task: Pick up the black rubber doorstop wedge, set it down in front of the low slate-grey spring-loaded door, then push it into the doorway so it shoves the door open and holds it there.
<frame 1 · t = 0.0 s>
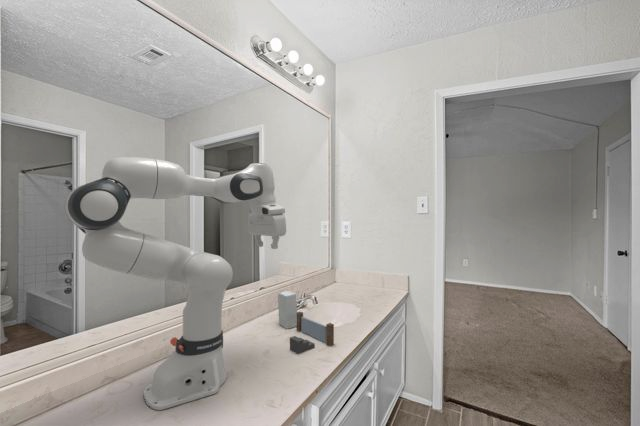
hand: (267, 247, 106), 39 cm above the worktop, tool pointing down, fingers open, 8 cm apart
doorstop wedge: (302, 349, 112), on the worktop
door: (314, 328, 123), point 3 cm above the worktop, hinge at 0.0°
skincare box: (287, 325, 136), on the worktop
door frame: (315, 337, 122), on the worktop
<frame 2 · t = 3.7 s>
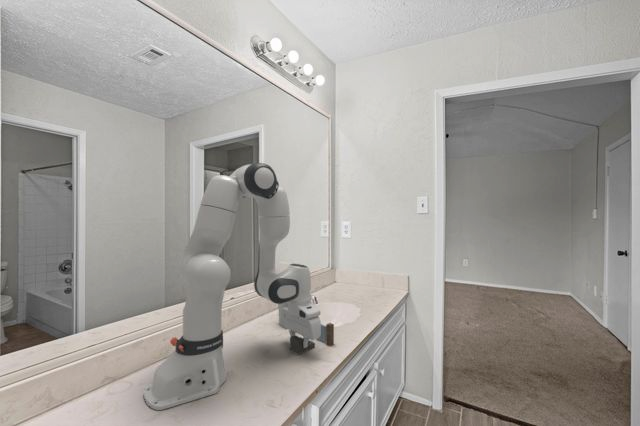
hand: (299, 344, 111), 2 cm above the worktop, tool pointing down, fingers closed on doorstop wedge, 5 cm apart
doorstop wedge: (302, 348, 112), on the worktop, touching gripper
everything else where it was.
when the fingers open (3 cm above the worktop, at t = 10.3 s): doorstop wedge drops 1 cm, on the worktop.
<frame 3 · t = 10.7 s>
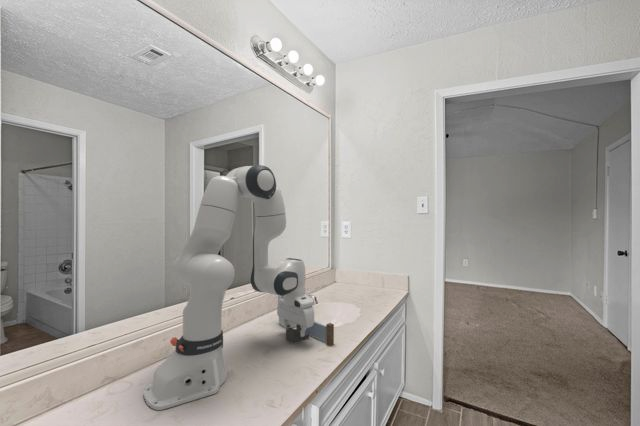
hand: (294, 332, 119), 3 cm above the worktop, tool pointing down, fingers open, 8 cm apart
doorstop wedge: (297, 339, 120), on the worktop
everything else where it was.
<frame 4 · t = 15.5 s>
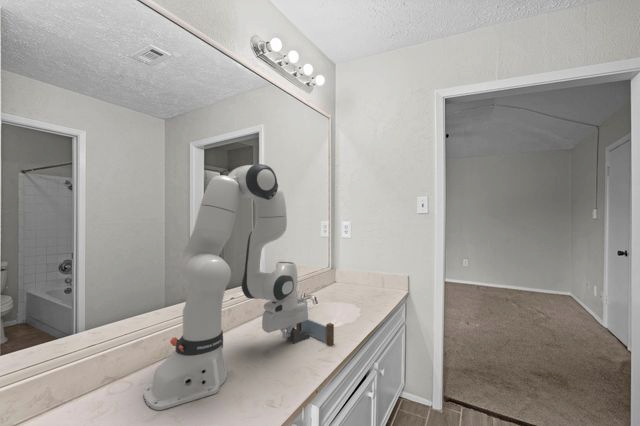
hand: (286, 337, 117), 2 cm above the worktop, tool pointing down, fingers closed
doorstop wedge: (298, 339, 121), on the worktop, touching gripper
everything else where it was.
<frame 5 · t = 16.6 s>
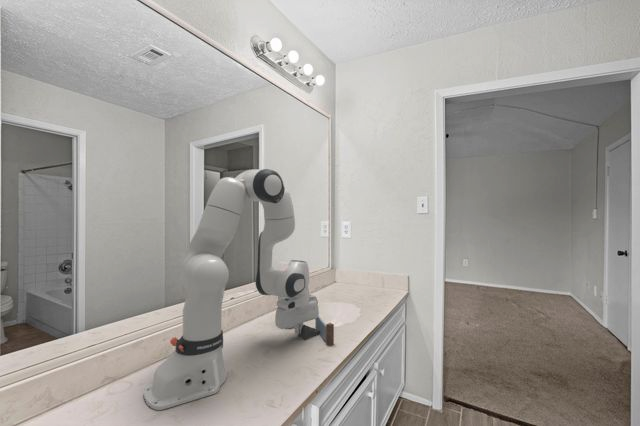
hand: (298, 333, 121), 2 cm above the worktop, tool pointing down, fingers closed
doorstop wedge: (308, 335, 124), on the worktop, touching gripper
door: (322, 326, 124), point 4 cm above the worktop, hinge at 26.2°
everything else where it was.
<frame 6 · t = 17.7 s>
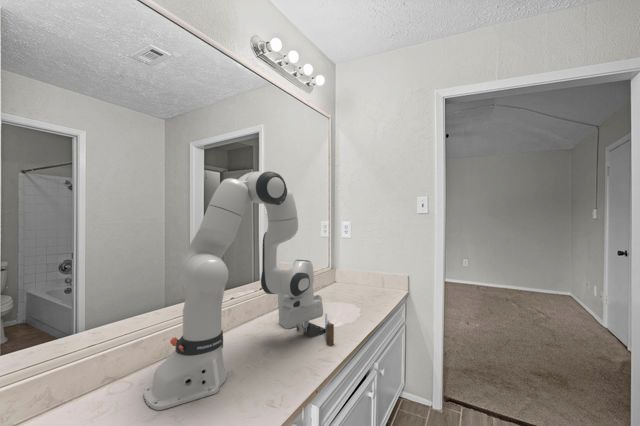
hand: (302, 332, 122), 2 cm above the worktop, tool pointing down, fingers closed
doorstop wedge: (314, 333, 126), on the worktop, touching door, gripper
door: (327, 326, 124), point 3 cm above the worktop, hinge at 42.6°, touching doorstop wedge
everything else where it was.
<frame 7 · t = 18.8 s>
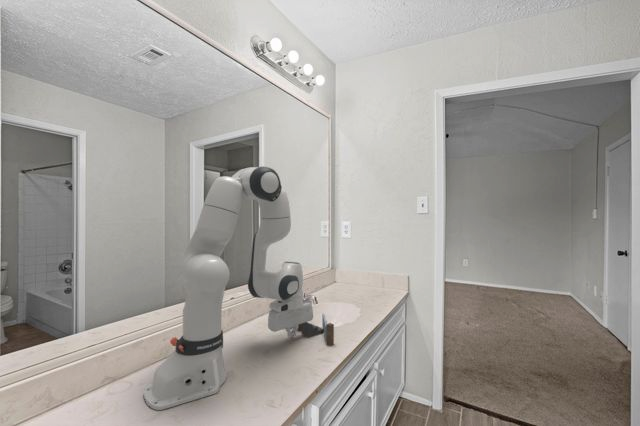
hand: (291, 336, 118), 2 cm above the worktop, tool pointing down, fingers closed
doorstop wedge: (312, 333, 126), on the worktop
door: (326, 326, 124), point 4 cm above the worktop, hinge at 37.9°
everything else where it was.
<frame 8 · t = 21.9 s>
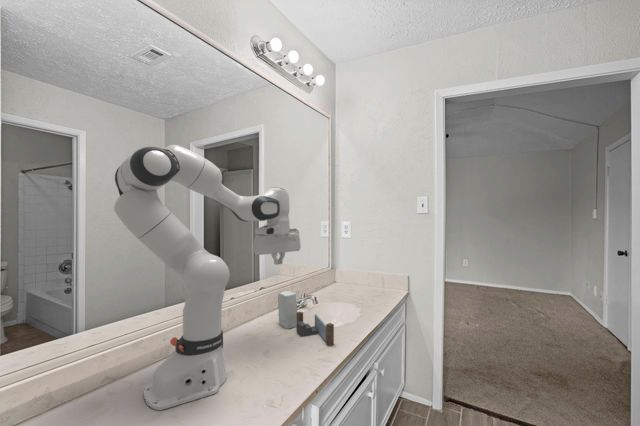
hand: (278, 264, 117), 31 cm above the worktop, tool pointing down, fingers closed
doorstop wedge: (307, 333, 126), on the worktop, touching door frame
door: (321, 326, 124), point 3 cm above the worktop, hinge at 24.8°
everything else where it was.
at the end: door at +24° (first picture: +0°); doorstop wedge touching door, worktop; the gripper is holding nothing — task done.
